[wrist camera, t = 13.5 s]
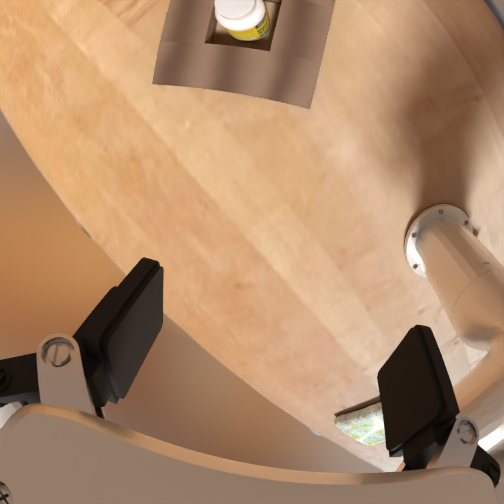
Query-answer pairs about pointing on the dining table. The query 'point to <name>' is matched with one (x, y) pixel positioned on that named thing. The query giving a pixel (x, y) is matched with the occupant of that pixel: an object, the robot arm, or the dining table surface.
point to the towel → (363, 424)
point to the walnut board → (245, 52)
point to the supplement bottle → (243, 18)
